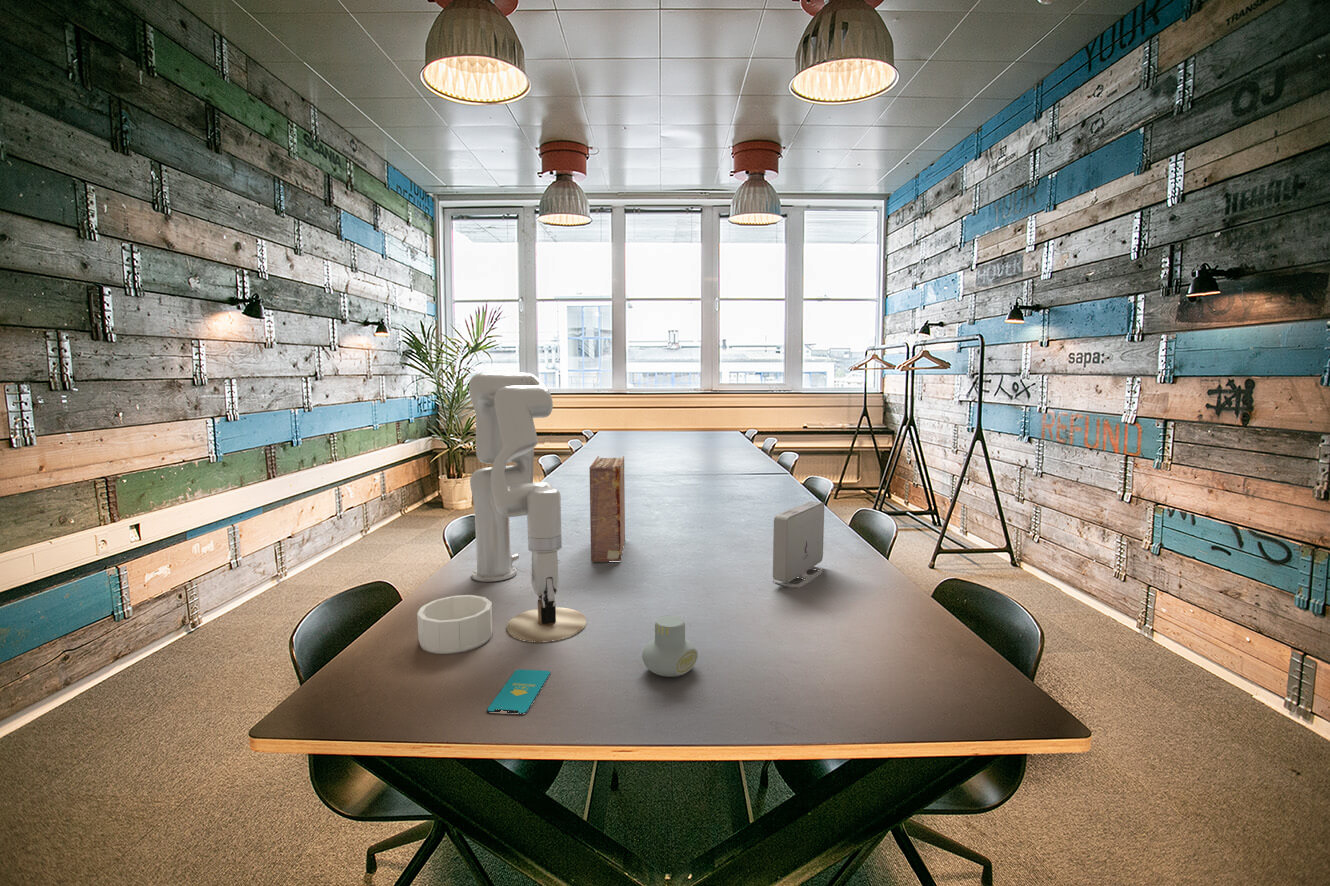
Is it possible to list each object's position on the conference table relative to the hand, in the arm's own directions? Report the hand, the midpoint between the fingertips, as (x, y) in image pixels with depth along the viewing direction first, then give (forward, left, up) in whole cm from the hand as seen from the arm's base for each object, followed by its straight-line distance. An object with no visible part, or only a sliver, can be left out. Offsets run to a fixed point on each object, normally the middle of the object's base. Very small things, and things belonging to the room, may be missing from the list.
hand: (546, 618), depth 138 cm
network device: (-54, +50, -2) cm, 74 cm away
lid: (0, 0, -2) cm, 2 cm away
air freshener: (+10, +34, -2) cm, 36 cm away
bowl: (+13, -15, -2) cm, 20 cm away
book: (-58, -12, -2) cm, 59 cm away
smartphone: (+27, +11, -2) cm, 29 cm away
